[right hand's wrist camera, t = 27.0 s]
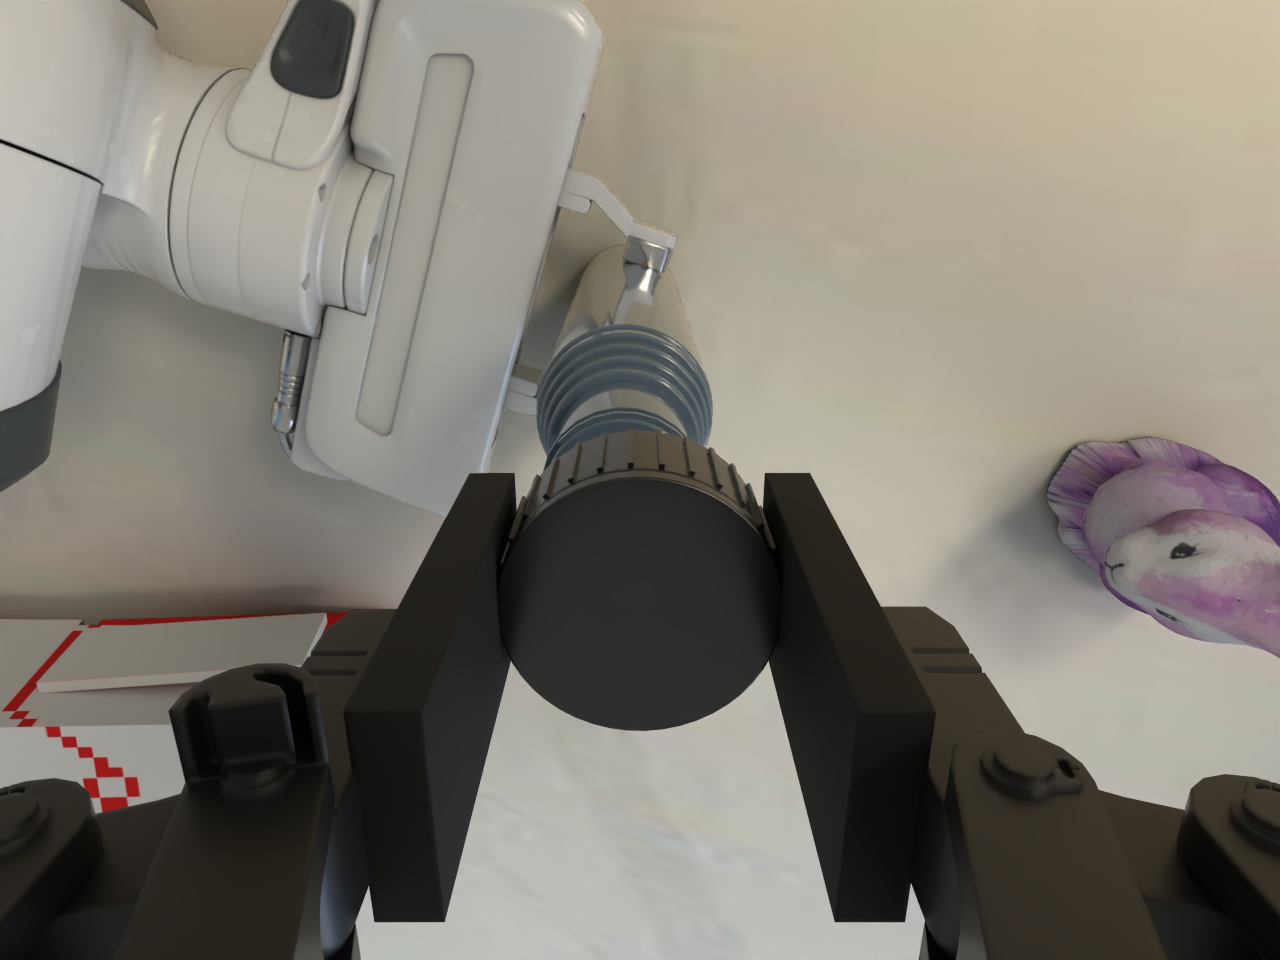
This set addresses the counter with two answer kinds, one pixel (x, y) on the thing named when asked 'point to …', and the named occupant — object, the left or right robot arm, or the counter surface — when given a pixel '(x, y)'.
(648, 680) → the cap
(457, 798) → the right robot arm
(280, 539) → the counter surface
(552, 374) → the bottle
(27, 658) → the toy
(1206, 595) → the figurine
